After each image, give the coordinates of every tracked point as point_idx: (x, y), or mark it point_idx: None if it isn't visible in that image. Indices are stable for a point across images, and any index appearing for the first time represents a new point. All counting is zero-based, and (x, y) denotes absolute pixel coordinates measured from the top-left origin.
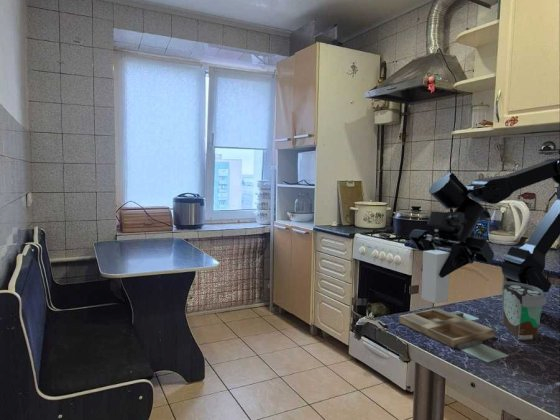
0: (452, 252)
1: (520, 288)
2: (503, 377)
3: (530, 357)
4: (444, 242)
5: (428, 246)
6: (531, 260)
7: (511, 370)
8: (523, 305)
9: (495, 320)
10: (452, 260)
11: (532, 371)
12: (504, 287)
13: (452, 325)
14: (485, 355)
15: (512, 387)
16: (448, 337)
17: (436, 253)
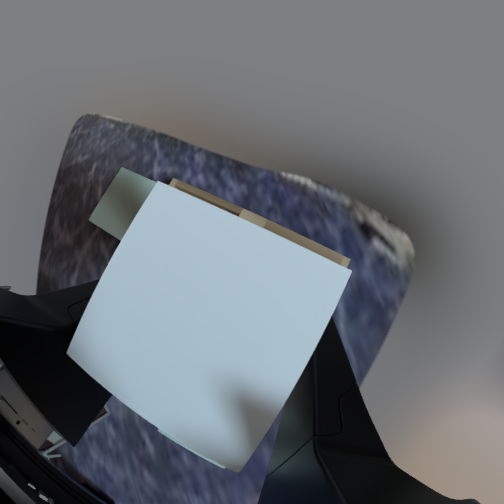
0: (40, 317)
1: None
2: (107, 147)
3: (63, 250)
4: None
5: (340, 471)
6: None
7: (94, 177)
8: (7, 286)
9: (130, 447)
10: (78, 289)
11: (70, 195)
12: (45, 443)
13: None
14: (123, 191)
15: (102, 130)
16: (185, 185)
17: (170, 228)
